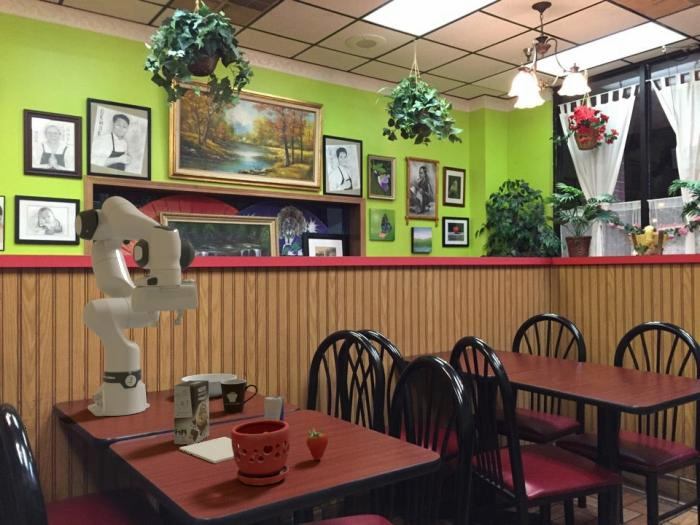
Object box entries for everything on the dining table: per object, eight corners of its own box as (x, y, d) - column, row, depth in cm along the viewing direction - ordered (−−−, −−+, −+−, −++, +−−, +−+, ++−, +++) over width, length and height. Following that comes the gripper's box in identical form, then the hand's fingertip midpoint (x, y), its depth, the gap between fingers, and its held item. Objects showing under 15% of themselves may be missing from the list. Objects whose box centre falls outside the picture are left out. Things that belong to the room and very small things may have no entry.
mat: (179, 449, 159) (179, 447, 159) (224, 438, 169) (224, 436, 169) (214, 463, 147) (214, 461, 147) (261, 450, 157) (261, 448, 157)
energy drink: (287, 439, 167) (286, 396, 167) (279, 444, 162) (278, 400, 162) (270, 437, 169) (269, 395, 169) (261, 443, 164) (260, 399, 164)
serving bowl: (247, 391, 236) (247, 374, 237) (214, 402, 217) (214, 383, 217) (204, 388, 245) (204, 371, 245) (169, 398, 226) (169, 380, 226)
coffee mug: (215, 413, 200) (215, 383, 201) (230, 407, 208) (229, 378, 209) (245, 415, 196) (245, 385, 196) (259, 409, 204) (258, 380, 204)
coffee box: (194, 445, 163) (194, 385, 163) (173, 444, 164) (172, 385, 164) (210, 436, 171) (209, 379, 172) (189, 435, 173) (189, 379, 173)
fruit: (304, 457, 150) (304, 425, 150) (325, 455, 152) (325, 423, 152) (309, 463, 145) (308, 430, 146) (330, 461, 147) (330, 428, 147)
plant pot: (268, 465, 144) (267, 415, 145) (302, 479, 135) (301, 425, 135) (220, 479, 135) (219, 425, 136) (253, 494, 126) (252, 436, 126)
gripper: (191, 279, 188) (192, 323, 188) (128, 280, 173) (128, 328, 173) (202, 278, 183) (202, 324, 183) (138, 280, 169) (138, 329, 169)
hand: (166, 326), depth 178 cm, fingers open, 6 cm apart
